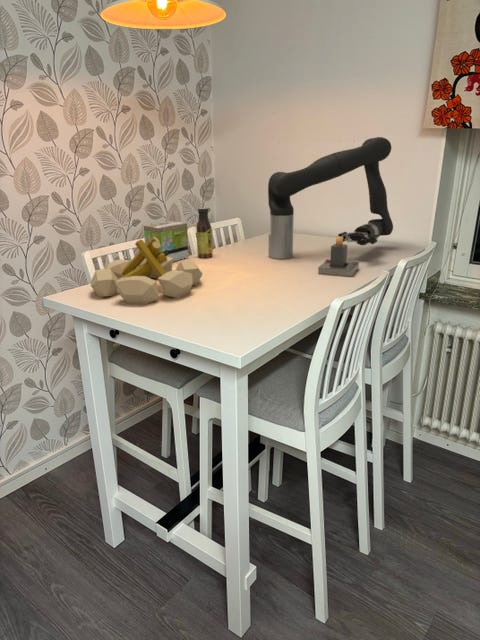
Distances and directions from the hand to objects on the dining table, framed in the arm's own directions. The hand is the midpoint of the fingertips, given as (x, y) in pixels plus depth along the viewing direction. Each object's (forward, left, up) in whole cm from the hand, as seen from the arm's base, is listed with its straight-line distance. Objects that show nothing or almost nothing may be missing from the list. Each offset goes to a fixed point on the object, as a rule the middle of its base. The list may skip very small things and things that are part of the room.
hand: (350, 241), depth 182 cm
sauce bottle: (-59, -5, -9) cm, 60 cm away
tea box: (-71, -15, -9) cm, 73 cm away
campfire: (-56, -51, -10) cm, 77 cm away
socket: (-2, -10, -9) cm, 14 cm away
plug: (-2, -10, -9) cm, 13 cm away
